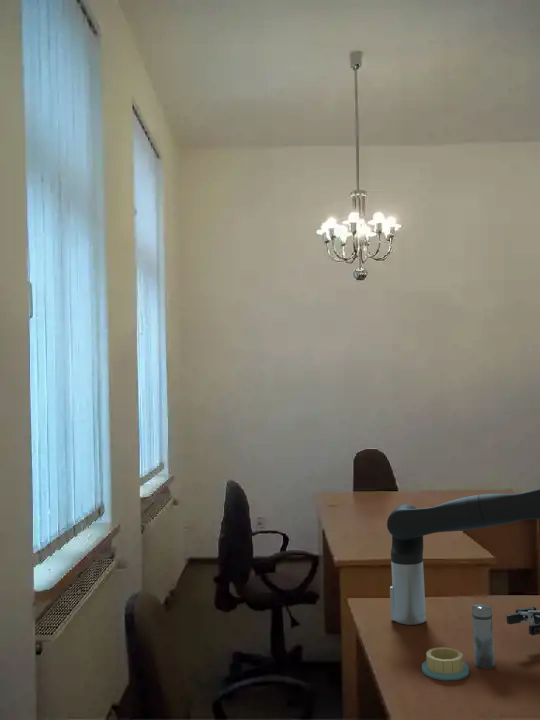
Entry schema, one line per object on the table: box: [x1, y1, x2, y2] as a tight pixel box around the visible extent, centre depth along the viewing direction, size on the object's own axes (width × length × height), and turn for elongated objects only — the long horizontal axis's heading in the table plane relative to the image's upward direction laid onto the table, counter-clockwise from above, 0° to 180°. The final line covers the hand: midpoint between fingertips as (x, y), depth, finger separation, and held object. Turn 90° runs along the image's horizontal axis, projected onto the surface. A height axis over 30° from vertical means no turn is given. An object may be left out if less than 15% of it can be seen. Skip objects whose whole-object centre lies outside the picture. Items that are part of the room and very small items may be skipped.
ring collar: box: [421, 646, 470, 682], centre depth 169 cm, size 11×11×4 cm
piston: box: [471, 603, 495, 670], centre depth 172 cm, size 5×5×14 cm
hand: (518, 625), depth 176 cm, fingers open, 8 cm apart
